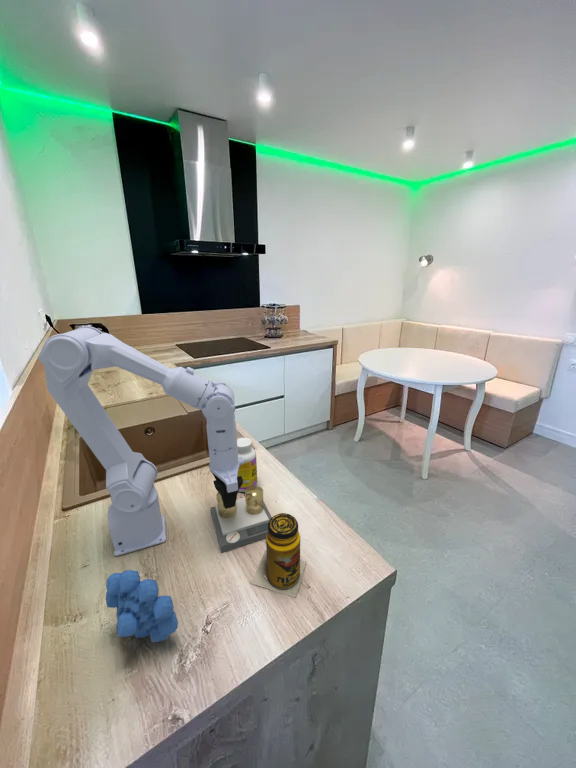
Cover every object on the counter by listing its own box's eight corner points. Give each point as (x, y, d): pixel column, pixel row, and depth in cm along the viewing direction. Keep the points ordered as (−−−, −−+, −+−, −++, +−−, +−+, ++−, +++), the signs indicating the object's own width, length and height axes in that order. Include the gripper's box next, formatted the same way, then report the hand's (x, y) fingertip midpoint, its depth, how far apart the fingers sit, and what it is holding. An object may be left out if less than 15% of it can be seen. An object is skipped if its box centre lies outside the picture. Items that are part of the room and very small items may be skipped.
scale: (221, 553, 61) (220, 544, 60) (211, 513, 72) (210, 505, 71) (277, 534, 66) (277, 526, 65) (260, 499, 76) (259, 491, 75)
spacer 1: (222, 520, 65) (220, 502, 63) (215, 509, 68) (213, 492, 66) (239, 513, 67) (238, 495, 65) (232, 502, 70) (231, 485, 68)
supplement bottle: (255, 493, 78) (253, 449, 74) (229, 493, 78) (226, 448, 74) (258, 477, 85) (257, 435, 80) (234, 477, 85) (231, 435, 81)
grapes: (92, 652, 45) (74, 593, 41) (127, 607, 51) (113, 551, 47) (161, 678, 42) (148, 616, 38) (189, 627, 48) (180, 569, 44)
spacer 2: (265, 511, 69) (265, 494, 67) (248, 516, 68) (247, 499, 66) (260, 500, 72) (260, 484, 71) (244, 505, 71) (243, 488, 70)
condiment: (295, 598, 53) (296, 543, 49) (250, 584, 55) (247, 531, 51) (306, 562, 59) (307, 511, 55) (265, 551, 62) (263, 502, 58)
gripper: (252, 457, 57) (255, 516, 62) (234, 425, 70) (237, 476, 74) (213, 466, 55) (219, 527, 59) (202, 431, 67) (207, 483, 72)
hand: (227, 499), depth 66 cm, fingers closed on spacer 1, 4 cm apart
